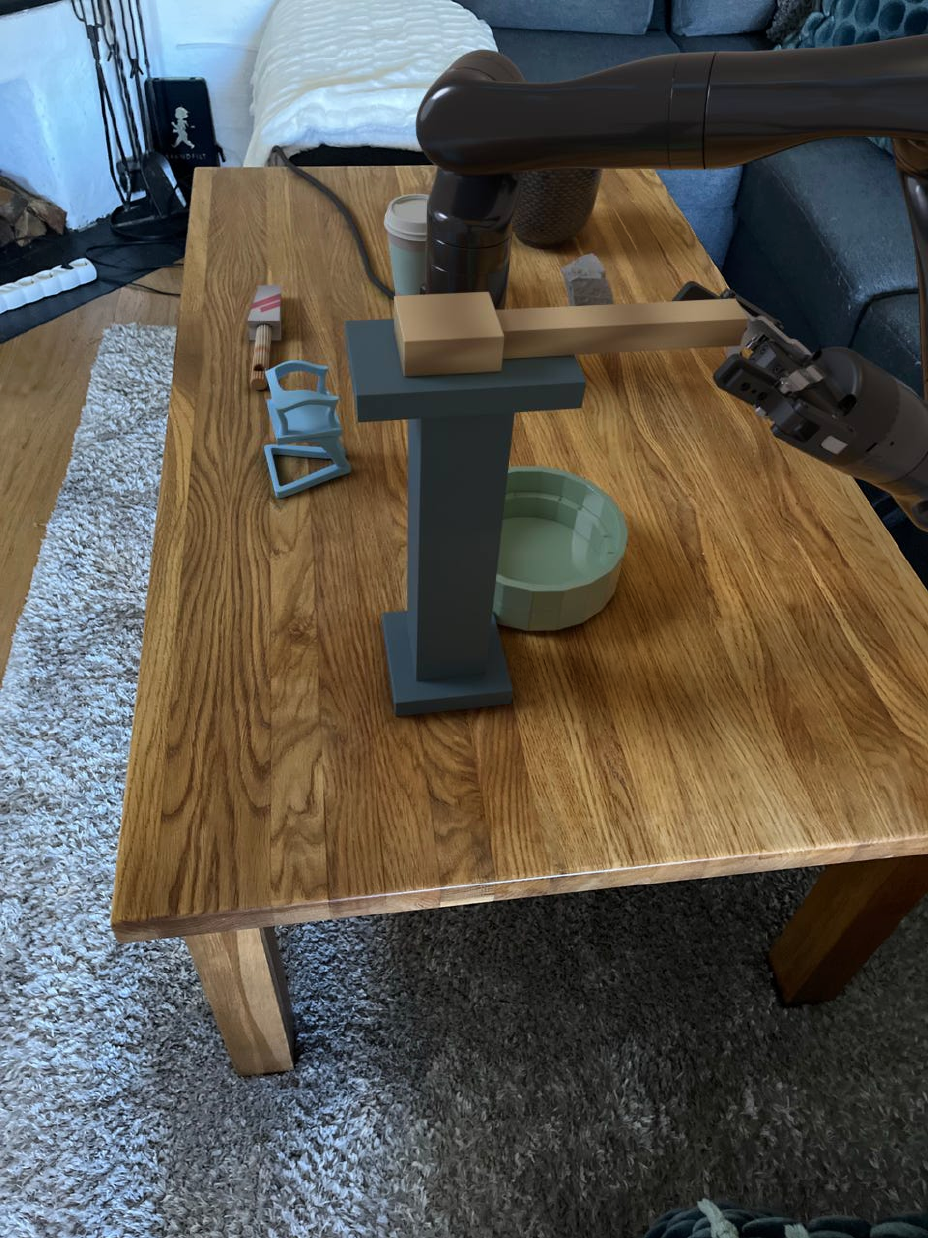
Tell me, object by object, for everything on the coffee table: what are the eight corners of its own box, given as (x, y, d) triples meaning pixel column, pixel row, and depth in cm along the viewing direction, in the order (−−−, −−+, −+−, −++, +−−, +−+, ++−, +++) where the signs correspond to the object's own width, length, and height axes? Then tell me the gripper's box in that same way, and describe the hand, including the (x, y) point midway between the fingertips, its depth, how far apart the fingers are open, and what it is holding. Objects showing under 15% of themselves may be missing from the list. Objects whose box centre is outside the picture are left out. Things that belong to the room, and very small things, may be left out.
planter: (594, 263, 130) (610, 168, 120) (494, 257, 129) (502, 162, 120) (587, 215, 139) (601, 123, 129) (494, 210, 139) (501, 117, 129)
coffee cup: (459, 289, 124) (464, 199, 114) (437, 322, 118) (440, 230, 109) (399, 275, 125) (399, 186, 116) (374, 307, 120) (372, 215, 111)
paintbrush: (284, 274, 118) (273, 374, 106) (286, 294, 120) (275, 394, 108) (253, 274, 117) (238, 374, 105) (256, 293, 120) (241, 393, 107)
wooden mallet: (404, 377, 56) (404, 341, 54) (394, 331, 59) (393, 295, 58) (747, 357, 59) (758, 322, 58) (720, 314, 63) (730, 280, 61)
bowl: (411, 557, 91) (411, 511, 87) (536, 489, 98) (542, 444, 94) (525, 664, 83) (532, 620, 79) (651, 581, 91) (664, 537, 86)
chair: (355, 486, 97) (351, 390, 88) (275, 499, 95) (262, 402, 86) (340, 440, 102) (335, 344, 93) (264, 451, 100) (250, 355, 91)
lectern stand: (371, 719, 78) (358, 405, 54) (360, 629, 85) (343, 311, 61) (533, 701, 81) (590, 391, 56) (510, 614, 87) (552, 302, 63)
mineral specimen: (595, 294, 123) (613, 243, 116) (619, 341, 120) (639, 292, 113) (544, 299, 121) (559, 248, 114) (567, 348, 118) (584, 298, 111)
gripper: (853, 324, 71) (704, 225, 63) (945, 443, 62) (786, 347, 54) (780, 398, 75) (632, 315, 67) (856, 519, 66) (696, 441, 58)
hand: (701, 329), depth 60 cm, fingers open, 8 cm apart
